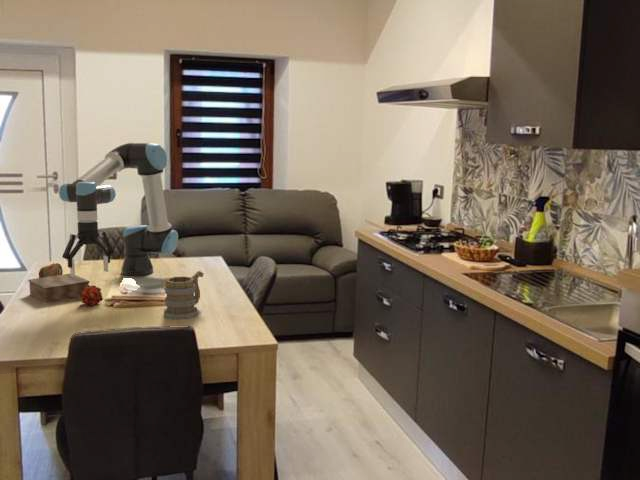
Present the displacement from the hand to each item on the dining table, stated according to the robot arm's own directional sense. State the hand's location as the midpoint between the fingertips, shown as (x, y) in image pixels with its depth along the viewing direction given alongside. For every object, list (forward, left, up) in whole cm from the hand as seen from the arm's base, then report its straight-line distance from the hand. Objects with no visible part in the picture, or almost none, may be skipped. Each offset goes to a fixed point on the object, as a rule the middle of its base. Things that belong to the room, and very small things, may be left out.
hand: (89, 273), depth 262 cm
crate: (+5, -22, -14) cm, 26 cm away
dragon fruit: (0, 0, -13) cm, 13 cm away
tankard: (-25, +33, -13) cm, 43 cm away
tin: (0, -47, -13) cm, 49 cm away
